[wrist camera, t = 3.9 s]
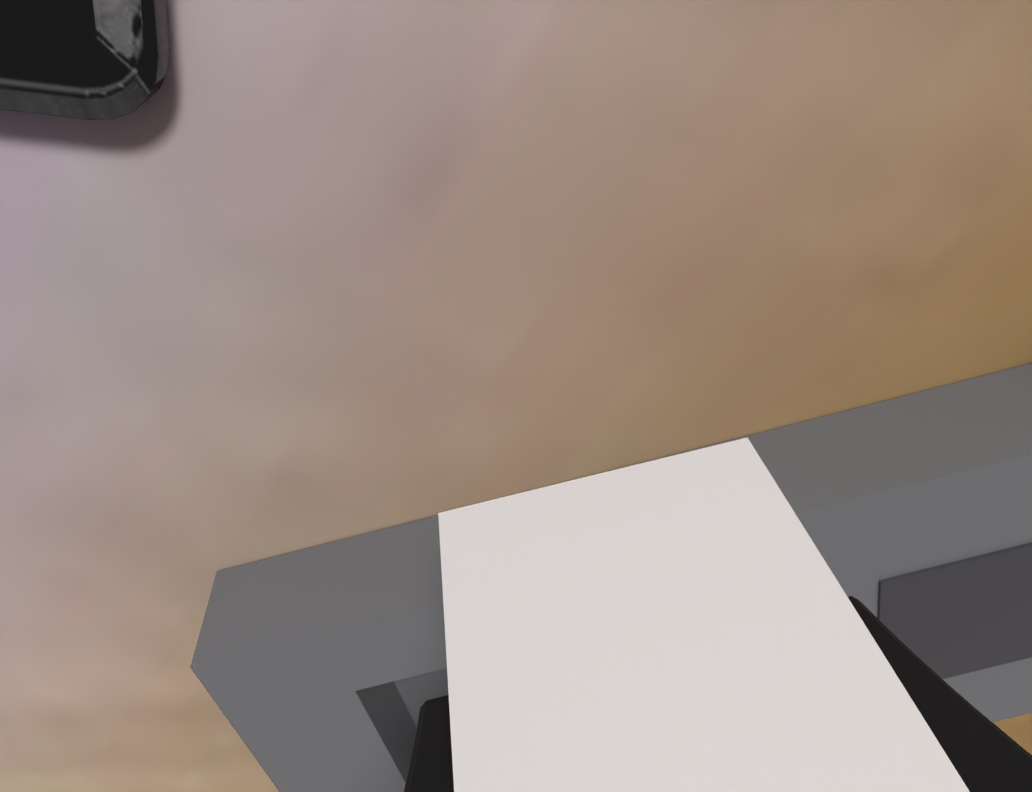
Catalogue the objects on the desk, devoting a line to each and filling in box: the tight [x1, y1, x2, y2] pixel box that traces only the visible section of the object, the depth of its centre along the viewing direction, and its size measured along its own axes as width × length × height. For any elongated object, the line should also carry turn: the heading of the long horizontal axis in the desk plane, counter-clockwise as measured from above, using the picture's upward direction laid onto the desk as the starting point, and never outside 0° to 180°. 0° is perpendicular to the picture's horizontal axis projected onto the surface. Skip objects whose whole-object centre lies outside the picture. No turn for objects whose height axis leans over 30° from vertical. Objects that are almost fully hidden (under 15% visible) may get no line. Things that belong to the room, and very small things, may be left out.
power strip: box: [190, 363, 1032, 792], centre depth 22 cm, size 22×10×3 cm, turn 103°
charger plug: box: [438, 437, 970, 792], centre depth 10 cm, size 4×4×6 cm
